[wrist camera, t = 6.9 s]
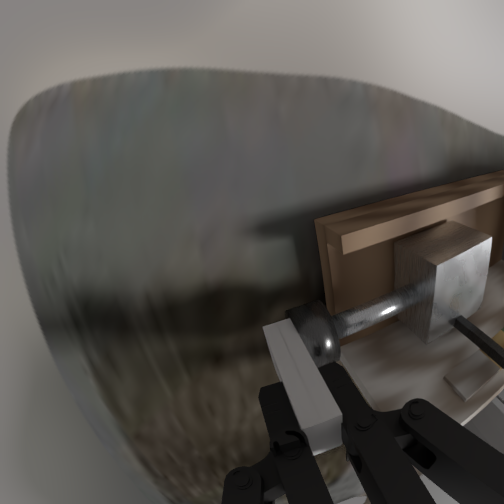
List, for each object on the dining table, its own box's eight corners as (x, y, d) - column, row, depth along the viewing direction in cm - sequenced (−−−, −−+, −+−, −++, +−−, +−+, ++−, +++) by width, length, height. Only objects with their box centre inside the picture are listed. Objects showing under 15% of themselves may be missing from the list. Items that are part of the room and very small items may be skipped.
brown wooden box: (330, 345, 20) (407, 464, 9) (314, 219, 16) (467, 322, 5) (502, 255, 22) (571, 294, 11) (506, 169, 18) (590, 194, 7)
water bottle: (428, 409, 29) (507, 515, 6) (426, 389, 26) (522, 514, 3) (471, 370, 29) (556, 462, 6) (474, 343, 26) (578, 448, 3)
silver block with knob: (292, 354, 17) (349, 473, 8) (276, 281, 15) (356, 415, 6) (447, 285, 18) (527, 343, 10) (452, 220, 16) (552, 265, 7)
